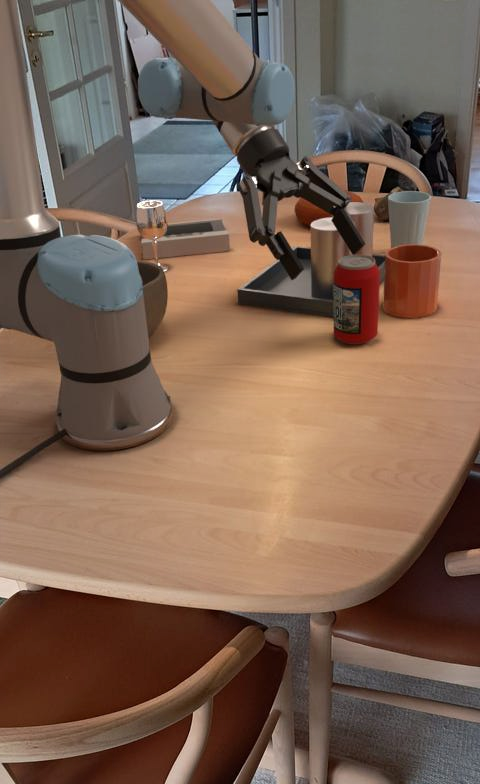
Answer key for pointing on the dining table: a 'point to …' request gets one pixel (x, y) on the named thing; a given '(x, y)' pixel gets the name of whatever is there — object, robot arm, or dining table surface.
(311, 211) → the donut
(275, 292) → the tray
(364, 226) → the silver can
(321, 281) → the silver can
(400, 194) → the cup
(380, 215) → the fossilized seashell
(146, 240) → the rectangular box
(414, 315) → the terracotta mug
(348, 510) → the dining table surface
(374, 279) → the beverage can
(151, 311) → the bowl
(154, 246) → the wineglass
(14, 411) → the dining table surface
